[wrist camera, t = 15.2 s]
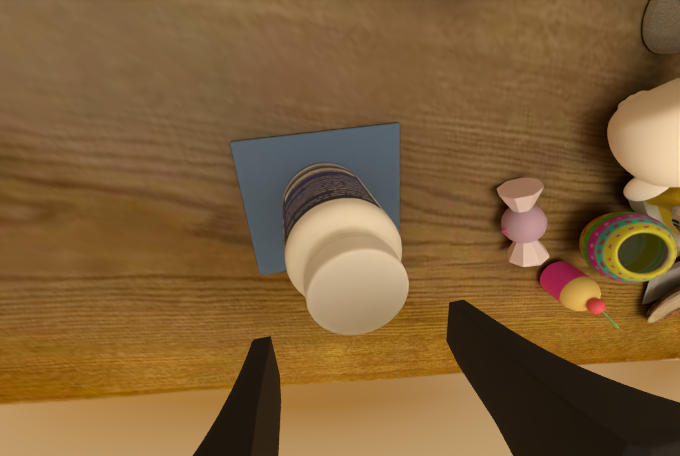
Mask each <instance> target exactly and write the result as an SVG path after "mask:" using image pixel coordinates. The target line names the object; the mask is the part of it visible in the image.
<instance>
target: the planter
mask: <svg viewBox="0 0 680 456" xmlns="http://www.w3.org/2000/svg"><path fill="white" fill-rule="evenodd" d="M642 30H643V38H644V42H645V44H646V46H647V47H648V48H649V49H650V50H651V51H652V52H654V53H657V54H680V0H651V1H650V3H649V5H648V7H647V9H646V12H645V16H644V20H643V29H642Z"/></svg>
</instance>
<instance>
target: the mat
mask: <svg viewBox="0 0 680 456" xmlns="http://www.w3.org/2000/svg"><path fill="white" fill-rule="evenodd" d="M230 146H231V151H232V155H233V159H234V164H235V168H236V173H237V177H238V181H239V186H240V190H241V195H242V199H243V204H244V208H245V212H246V217H247V221H248V226H249V230H250V234H251V239H252V243H253V248H254V252H255V256H256V261H257V265H258V270H259V274H260V275H265V274H271V273H277V272H283V271H287V269H286V264H285V255H284V239H283V215H282V203H283V197H284V193H285V190H286V188H287V186H288V184H289V183H290V181H291V180H292V179H293V178H294V177H295V176H296V175H297V174H298V173H299V172H301V171H302V170H304V169H305V168H307V167H310V166H312V165H316V164H323V163H330V164H336V165H339V166H342V167H344V168H346V169H348V170H350V171H351V172H352V173H354V174H355V175H356V176H357V177H358V178H359V179H360V181H361V182H362V183H363V185H364V186H365V187H366V188H367V190H368V191H369V192H370V194H371V195H372V196H373V197H374V199H375V200H376V201H377V203H378V204H379V205H380V206H381V208H382V209H383V210H384V211H385V213H386V214H387V215H388V216H389V218H390V219H391V220H392V222H393V223H394V225H395V226H396V228H397V230H398V233H399V235H400V123H398V122H396V123H387V124H378V125H369V126H360V127H352V128H343V129H334V130H325V131H317V132H308V133H299V134H290V135H281V136H273V137H264V138H255V139H246V140H237V141H231V142H230Z"/></svg>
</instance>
